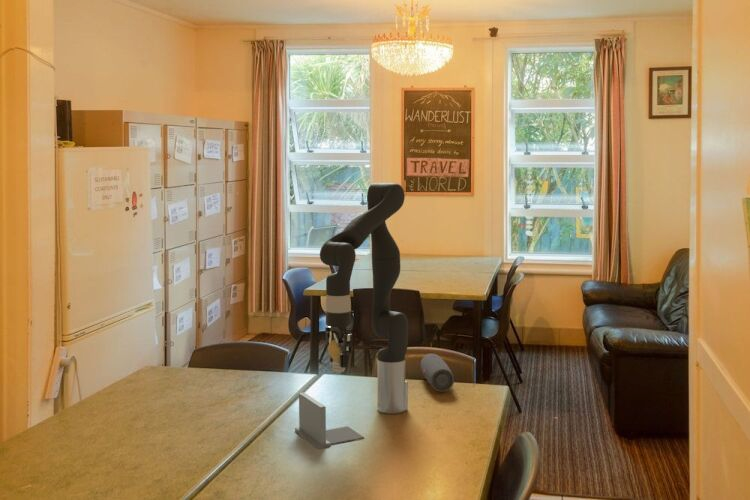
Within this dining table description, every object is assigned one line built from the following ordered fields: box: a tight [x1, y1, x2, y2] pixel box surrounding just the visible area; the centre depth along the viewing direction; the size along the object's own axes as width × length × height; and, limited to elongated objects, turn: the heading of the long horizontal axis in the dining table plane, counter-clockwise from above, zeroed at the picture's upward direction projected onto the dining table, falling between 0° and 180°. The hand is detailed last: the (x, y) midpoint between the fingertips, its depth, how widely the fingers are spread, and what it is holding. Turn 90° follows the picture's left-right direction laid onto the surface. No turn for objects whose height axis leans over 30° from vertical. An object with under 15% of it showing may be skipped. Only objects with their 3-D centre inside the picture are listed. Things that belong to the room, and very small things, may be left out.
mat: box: [326, 425, 365, 446], centre depth 239 cm, size 11×11×1 cm
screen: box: [294, 391, 331, 449], centre depth 237 cm, size 4×17×12 cm, turn 28°
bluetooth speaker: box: [420, 353, 455, 393], centre depth 290 cm, size 23×9×10 cm, turn 6°
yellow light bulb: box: [327, 339, 349, 373], centre depth 237 cm, size 6×6×10 cm
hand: (338, 364), depth 237 cm, fingers closed on yellow light bulb, 6 cm apart
